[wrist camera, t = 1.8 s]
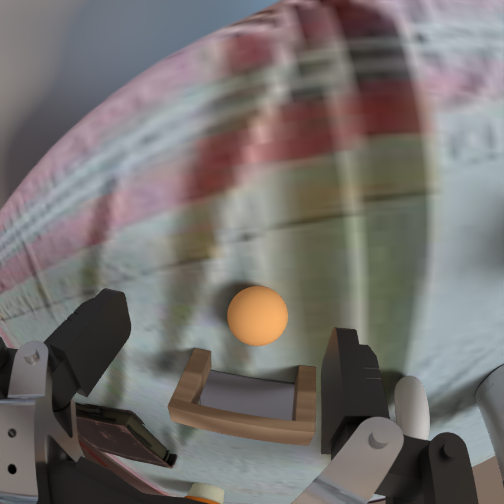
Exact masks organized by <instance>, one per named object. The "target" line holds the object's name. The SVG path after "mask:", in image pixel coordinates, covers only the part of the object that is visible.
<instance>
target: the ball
mask: <svg viewBox="0 0 504 504" xmlns="http://www.w3.org/2000/svg"><path fill="white" fill-rule="evenodd" d="M227 320H228V325H229V327H230V329H231V331H232V333H233V334H234V335H235V337H236V338H238V339H239V340H240V341H242V342H244V343H246V344H248V345H253V346H262V345H267V344H269V343H271V342H273V341H275V340H276V339H277V338H279V336H280V335H281V334H282V333H283V331H284V329H285V327H286V325H287V320H288V311H287V307H286V304H285V302H284V301H283V299H282V298H281V296H280V295H279V294H278V293H276V292H275V291H273V290H272V289H270V288H267V287H263V286H252V287H248V288H246V289H243V290H242V291H240V292H239V293H238V294H237V295H236V296H235V297H234V298H233V299H232V301H231V303H230V305H229V308H228V312H227Z"/></svg>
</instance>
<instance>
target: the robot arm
mask: <svg viewBox="0 0 504 504" xmlns="http://www.w3.org/2000/svg"><path fill="white" fill-rule="evenodd" d="M130 332H131V322H130V317H129V312H128V307H127V302H126V297H125V294H124V293H123V292H120V291H116V290H111V289H107V288H105V289H103V290H102V291H101V292H100V293H99V294H98V295H97V296H96V297H95V298H92V299H90V300H88V301H86V302H84V303H82V304H81V305H80V306H79V307H78V308H77V309H76V310H75V311H74V313H72V314H71V315H70V316H69V317H68V318H67V320H65V321H64V322H63V323H62V324H61V325H60V326H59V327H58V328H57V329H56V330H55V331H54V332H53V333H52V334H51V335H50V336H49V337H48V338H47V339H46V340H45V341H44V342H43V343H42V342H39V341H32V342H28V343H26V344H24V345H23V346H21V347H20V348H19V349H12V348H7V347H6V345H5V343H4V341H3V339H2V338H1V337H0V504H209V503H205V502H201V501H197V500H193V499H189V498H183V497H170V496H159V495H151V494H145V493H142V492H140V491H139V490H137V489H136V488H134V487H133V486H131V485H130V484H128V483H127V482H126V481H124V480H123V479H121V478H120V477H119V476H117V475H116V474H114V473H113V472H112V471H111V470H108V469H106V468H104V467H102V466H100V465H98V464H96V463H93V462H92V461H90V460H88V459H86V458H85V457H84V454H83V452H82V450H81V448H80V445H79V441H78V433H77V422H76V409H75V400H74V398H73V396H74V395H75V394H76V392H77V393H79V394H81V395H83V396H85V397H88V395H89V394H90V392H91V391H92V390H93V388H94V387H95V385H96V384H97V382H98V381H99V379H100V378H101V376H102V375H103V374H104V372H105V371H106V369H107V368H108V366H109V365H110V364H111V362H112V361H113V359H114V358H115V356H116V355H117V354H118V352H119V351H120V349H121V348H122V347H123V345H124V344H125V343H126V341H127V340H128V338H129V336H130ZM321 397H322V440H321V454H331V462H330V463H329V464H328V466H327V467H326V468H325V469H324V470H323V471H322V472H321V474H320V475H319V476H318V477H317V478H316V479H315V480H314V481H313V482H312V483H311V484H310V485H309V486H308V487H307V488H306V489H305V490H304V491H303V492H302V493H301V494H300V495H299V496H298V497H297V498H296V499H295V500H294V501H293V502H292V503H291V504H367V503H368V501H369V500H370V498H371V497H372V495H373V494H378V495H383V496H386V504H478V499H477V492H476V487H475V482H474V477H473V472H472V467H471V463H470V459H469V454H468V450H467V447H466V444H465V443H464V441H463V440H462V439H461V438H460V437H459V436H458V435H456V434H454V433H449V432H444V433H441V434H438V435H437V436H435V437H434V438H433V439H432V440H431V441H428V440H423V439H418V438H414V437H410V436H407V435H405V434H403V433H402V430H401V429H400V427H399V426H398V425H397V424H396V423H395V422H393V421H392V420H390V417H389V412H388V407H387V401H386V397H385V392H384V387H383V382H382V380H381V374H380V370H379V365H378V361H377V357H376V355H375V354H374V352H373V351H372V350H371V348H370V347H369V346H368V345H359V340H358V336H357V331H356V330H355V329H346V328H336V327H335V328H334V329H333V331H332V334H331V337H330V340H329V343H328V346H327V350H326V353H325V356H324V359H323V363H322V369H321ZM475 399H476V401H477V404H478V406H479V409H480V411H481V414H482V417H483V419H484V422H485V425H486V428H487V430H488V433H489V436H490V439H491V442H492V445H493V448H494V452H495V455H496V458H497V462H498V465H499V469H500V473H501V476H502V481H503V485H504V365H503V366H501V367H499V368H498V369H496V370H495V371H494V372H492V373H491V374H490V375H489V376H488V377H487V378H486V379H485V380H484V381H483V382H482V383H481V385H480V386H479V388H478V389H477V391H476V394H475Z"/></svg>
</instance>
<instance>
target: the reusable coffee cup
mask: <svg viewBox="0 0 504 504" xmlns="http://www.w3.org/2000/svg"><path fill="white" fill-rule="evenodd" d="M184 498H189V499H193V500H197V501H201V502H205V503H209V504H223V500H224V490H222V489H221V488H218V487H216V486H213V485H209V484H204V483H193V485H192V487H191V489H190V491H189V493H188V495H187V496H185V497H184Z"/></svg>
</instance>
